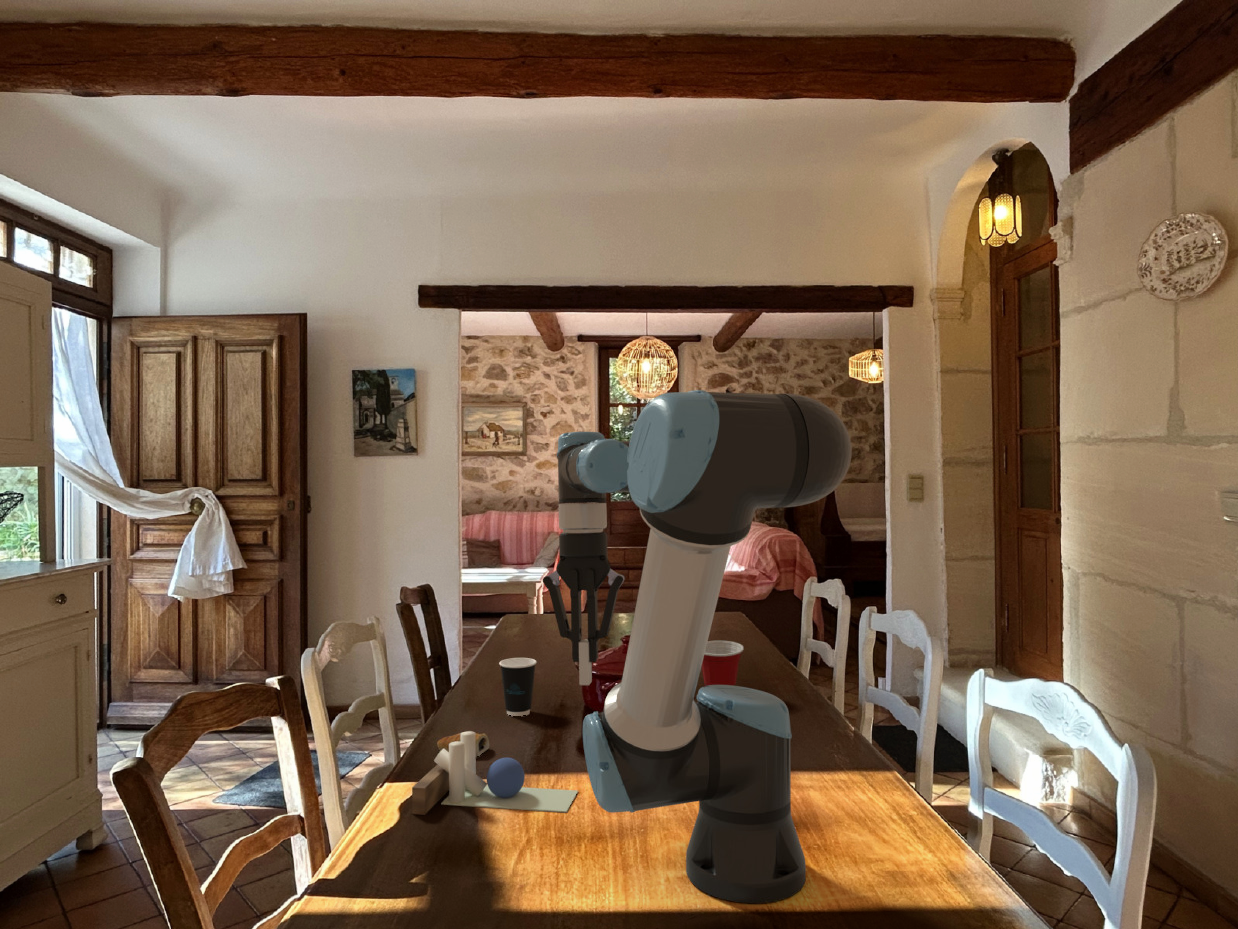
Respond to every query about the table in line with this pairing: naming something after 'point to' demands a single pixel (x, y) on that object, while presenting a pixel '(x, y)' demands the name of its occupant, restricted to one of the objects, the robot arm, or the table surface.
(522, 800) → the strip
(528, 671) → the dixie cup
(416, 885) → the table surface
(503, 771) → the ball
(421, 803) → the wall
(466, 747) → the pin rear left
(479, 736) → the pastry
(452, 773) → the pin rear right
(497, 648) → the table surface
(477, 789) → the pin front
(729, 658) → the plastic cup
